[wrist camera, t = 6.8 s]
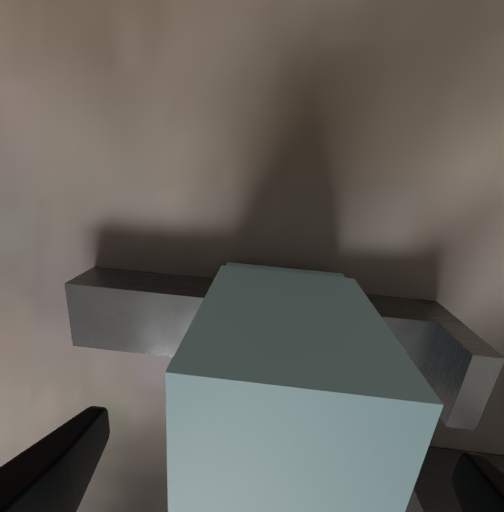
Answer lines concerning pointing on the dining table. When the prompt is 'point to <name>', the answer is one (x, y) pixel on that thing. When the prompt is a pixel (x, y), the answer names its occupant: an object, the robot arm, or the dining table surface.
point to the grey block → (293, 400)
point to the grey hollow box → (440, 481)
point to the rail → (195, 289)
